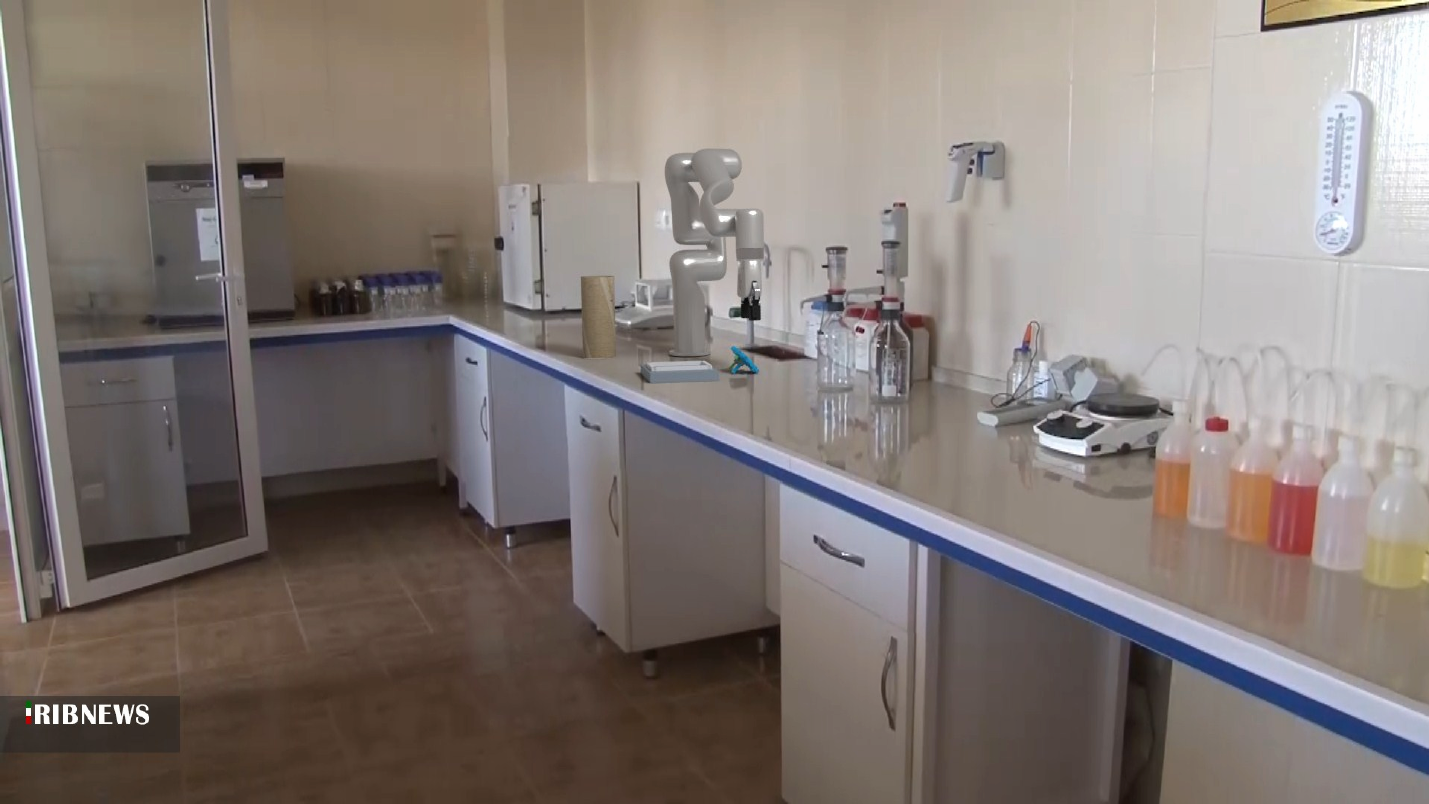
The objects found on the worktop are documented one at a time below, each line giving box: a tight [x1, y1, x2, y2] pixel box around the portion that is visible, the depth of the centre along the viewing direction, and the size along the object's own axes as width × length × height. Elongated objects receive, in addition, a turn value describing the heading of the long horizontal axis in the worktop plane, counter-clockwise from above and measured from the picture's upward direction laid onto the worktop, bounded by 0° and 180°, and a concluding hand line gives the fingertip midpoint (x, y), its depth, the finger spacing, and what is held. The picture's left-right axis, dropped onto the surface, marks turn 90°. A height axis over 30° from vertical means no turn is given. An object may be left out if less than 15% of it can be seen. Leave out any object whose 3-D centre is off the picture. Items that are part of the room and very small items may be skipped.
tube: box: [580, 275, 617, 359], centre depth 348 cm, size 10×10×25 cm
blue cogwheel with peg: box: [728, 345, 760, 375], centre depth 311 cm, size 11×6×10 cm
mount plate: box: [640, 360, 720, 384], centre depth 307 cm, size 20×18×4 cm
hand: (750, 319), depth 310 cm, fingers open, 9 cm apart
